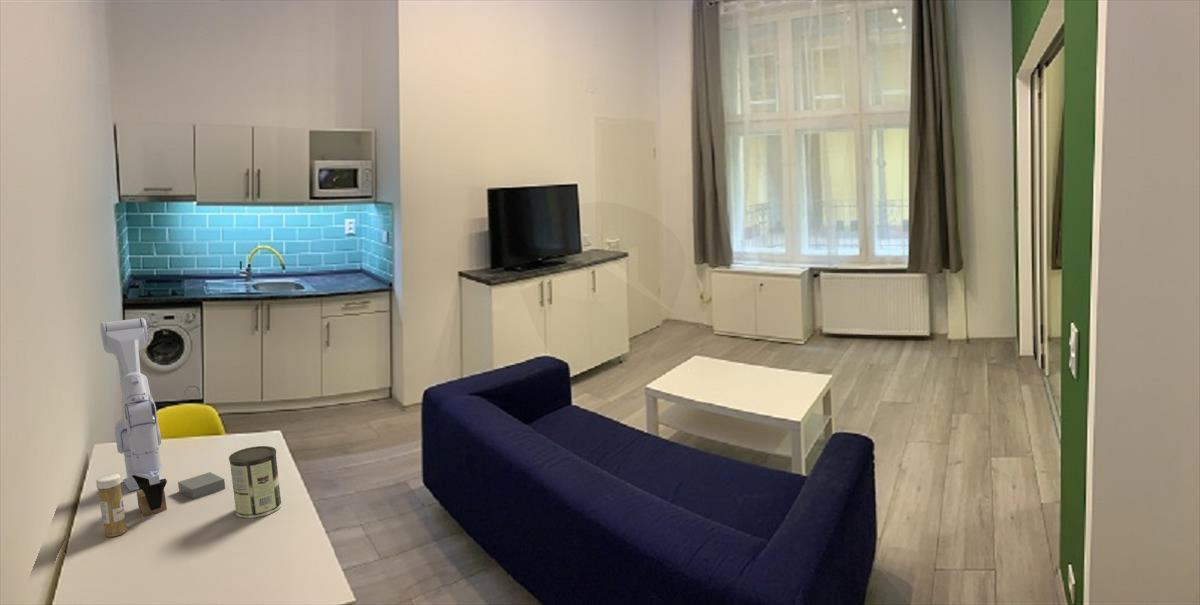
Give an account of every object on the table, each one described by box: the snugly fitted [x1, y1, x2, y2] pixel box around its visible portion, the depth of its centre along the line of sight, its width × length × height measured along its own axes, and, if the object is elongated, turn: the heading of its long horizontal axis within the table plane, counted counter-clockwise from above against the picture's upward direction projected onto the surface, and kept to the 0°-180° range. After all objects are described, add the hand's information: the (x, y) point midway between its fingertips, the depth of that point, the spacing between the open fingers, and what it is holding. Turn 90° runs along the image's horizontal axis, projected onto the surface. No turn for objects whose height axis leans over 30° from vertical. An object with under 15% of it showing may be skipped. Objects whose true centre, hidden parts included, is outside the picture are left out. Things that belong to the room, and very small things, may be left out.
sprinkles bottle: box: [95, 473, 128, 538], centre depth 172 cm, size 5×5×14 cm
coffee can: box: [228, 445, 282, 519], centre depth 182 cm, size 10×10×14 cm
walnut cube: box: [135, 489, 168, 517], centre depth 184 cm, size 5×5×5 cm
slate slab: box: [177, 471, 226, 500], centre depth 195 cm, size 8×8×3 cm
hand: (152, 503), depth 184 cm, fingers open, 7 cm apart
